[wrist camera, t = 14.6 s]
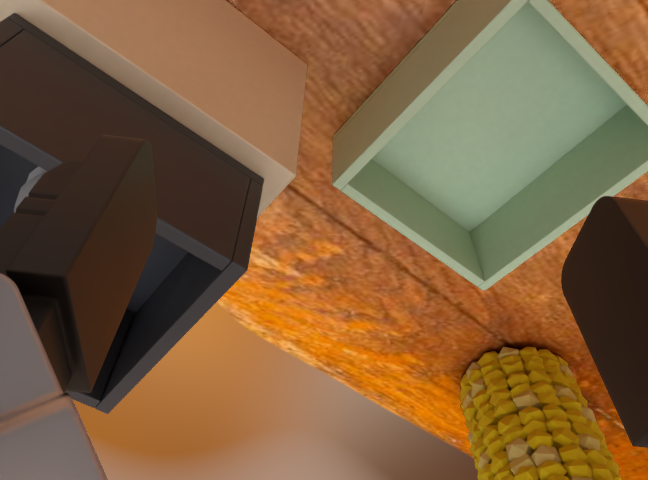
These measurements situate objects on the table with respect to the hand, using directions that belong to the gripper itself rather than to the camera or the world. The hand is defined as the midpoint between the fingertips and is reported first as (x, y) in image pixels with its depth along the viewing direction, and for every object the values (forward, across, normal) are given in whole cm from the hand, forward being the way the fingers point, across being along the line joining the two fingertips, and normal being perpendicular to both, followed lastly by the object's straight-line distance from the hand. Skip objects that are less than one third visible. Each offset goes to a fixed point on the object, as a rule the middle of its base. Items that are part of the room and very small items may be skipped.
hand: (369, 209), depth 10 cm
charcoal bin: (+11, +10, +8) cm, 17 cm away
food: (+23, -19, +30) cm, 43 cm away
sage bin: (+23, -9, +8) cm, 26 cm away
